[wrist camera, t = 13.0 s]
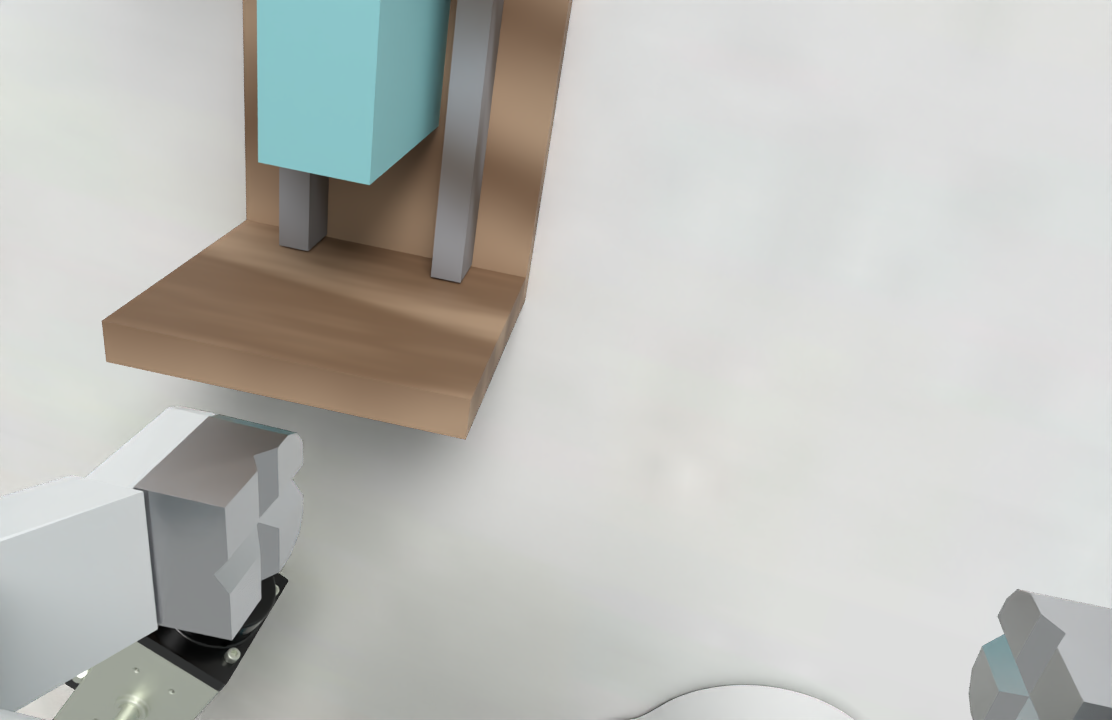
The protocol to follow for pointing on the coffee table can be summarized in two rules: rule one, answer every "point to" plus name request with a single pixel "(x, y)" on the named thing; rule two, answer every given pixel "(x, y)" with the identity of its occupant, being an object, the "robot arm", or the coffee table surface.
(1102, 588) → the coffee table surface
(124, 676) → the pneumatic valve
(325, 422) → the coffee table surface
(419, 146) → the cabinet base
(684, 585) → the coffee table surface
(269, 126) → the door panel
